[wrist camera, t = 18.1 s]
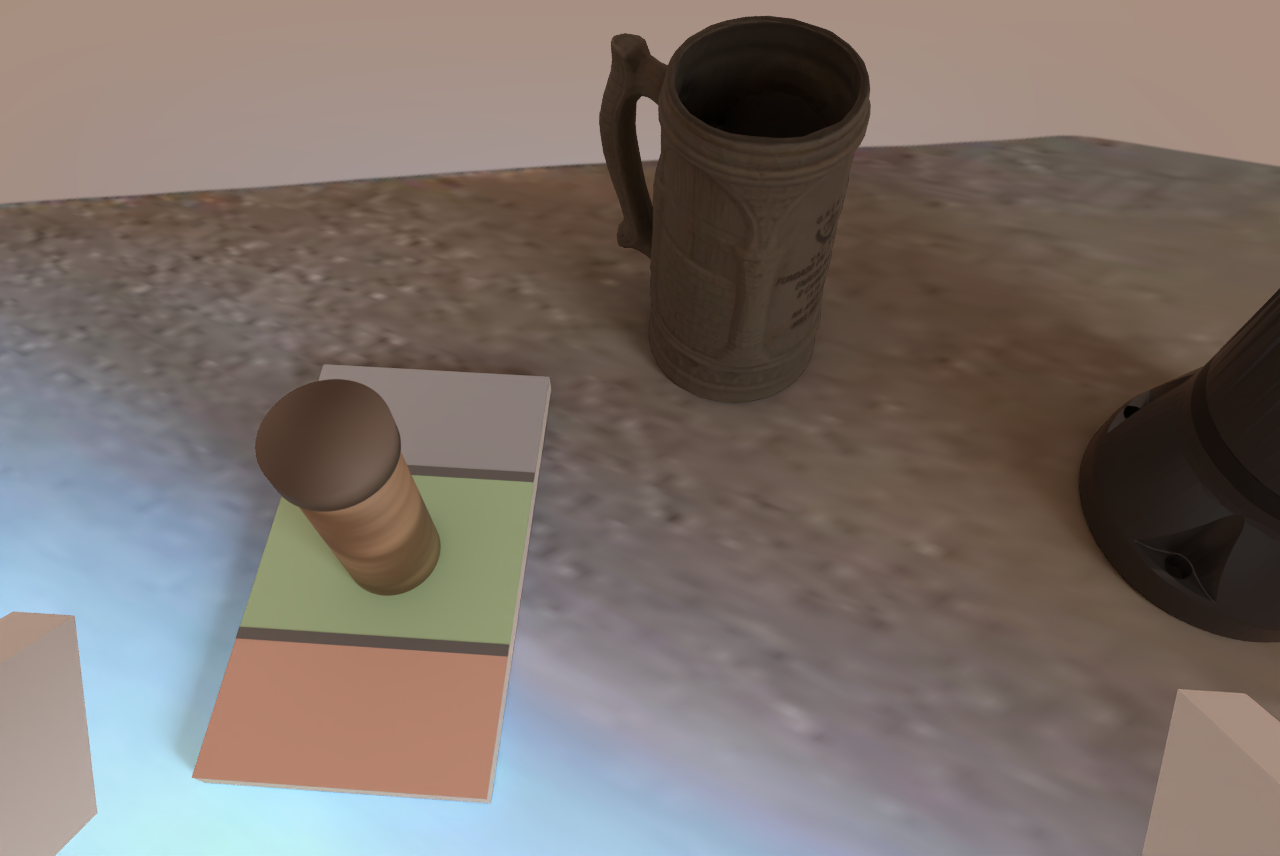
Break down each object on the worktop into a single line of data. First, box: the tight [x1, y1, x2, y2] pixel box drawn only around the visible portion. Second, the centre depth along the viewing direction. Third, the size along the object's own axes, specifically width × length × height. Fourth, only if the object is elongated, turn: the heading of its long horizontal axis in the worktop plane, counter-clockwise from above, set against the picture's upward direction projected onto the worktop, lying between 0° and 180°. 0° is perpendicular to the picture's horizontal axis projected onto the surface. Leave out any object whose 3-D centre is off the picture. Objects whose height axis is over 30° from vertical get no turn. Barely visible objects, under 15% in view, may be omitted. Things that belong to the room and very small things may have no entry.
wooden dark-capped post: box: [255, 379, 441, 596], centre depth 41 cm, size 6×6×12 cm
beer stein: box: [599, 16, 870, 403], centre depth 48 cm, size 15×11×20 cm
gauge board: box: [192, 364, 551, 803], centre depth 47 cm, size 14×24×1 cm, turn 176°
